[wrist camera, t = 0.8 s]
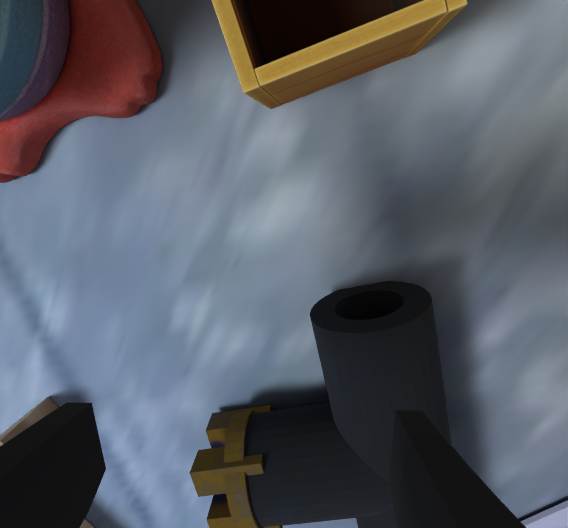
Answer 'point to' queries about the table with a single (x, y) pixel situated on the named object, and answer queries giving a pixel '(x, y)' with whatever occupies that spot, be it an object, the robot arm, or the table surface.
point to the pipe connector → (331, 419)
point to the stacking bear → (69, 70)
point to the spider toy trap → (322, 40)
